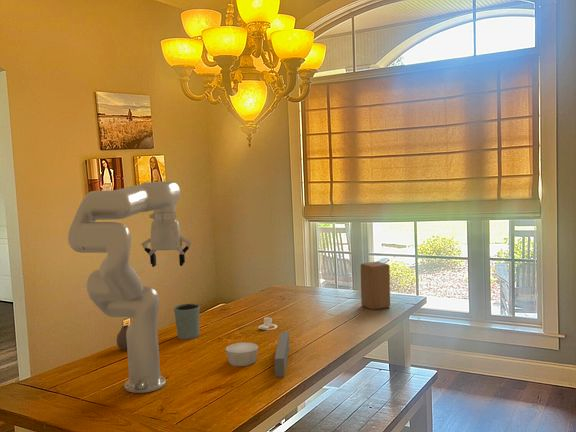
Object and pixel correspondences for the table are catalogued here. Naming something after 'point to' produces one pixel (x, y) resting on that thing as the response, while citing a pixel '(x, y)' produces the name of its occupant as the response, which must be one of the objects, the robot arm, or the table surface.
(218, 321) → the table surface
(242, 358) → the ramekin
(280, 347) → the board
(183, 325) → the blue-grey plant pot
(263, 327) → the white ring with peg
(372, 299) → the wooden block
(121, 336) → the vase
